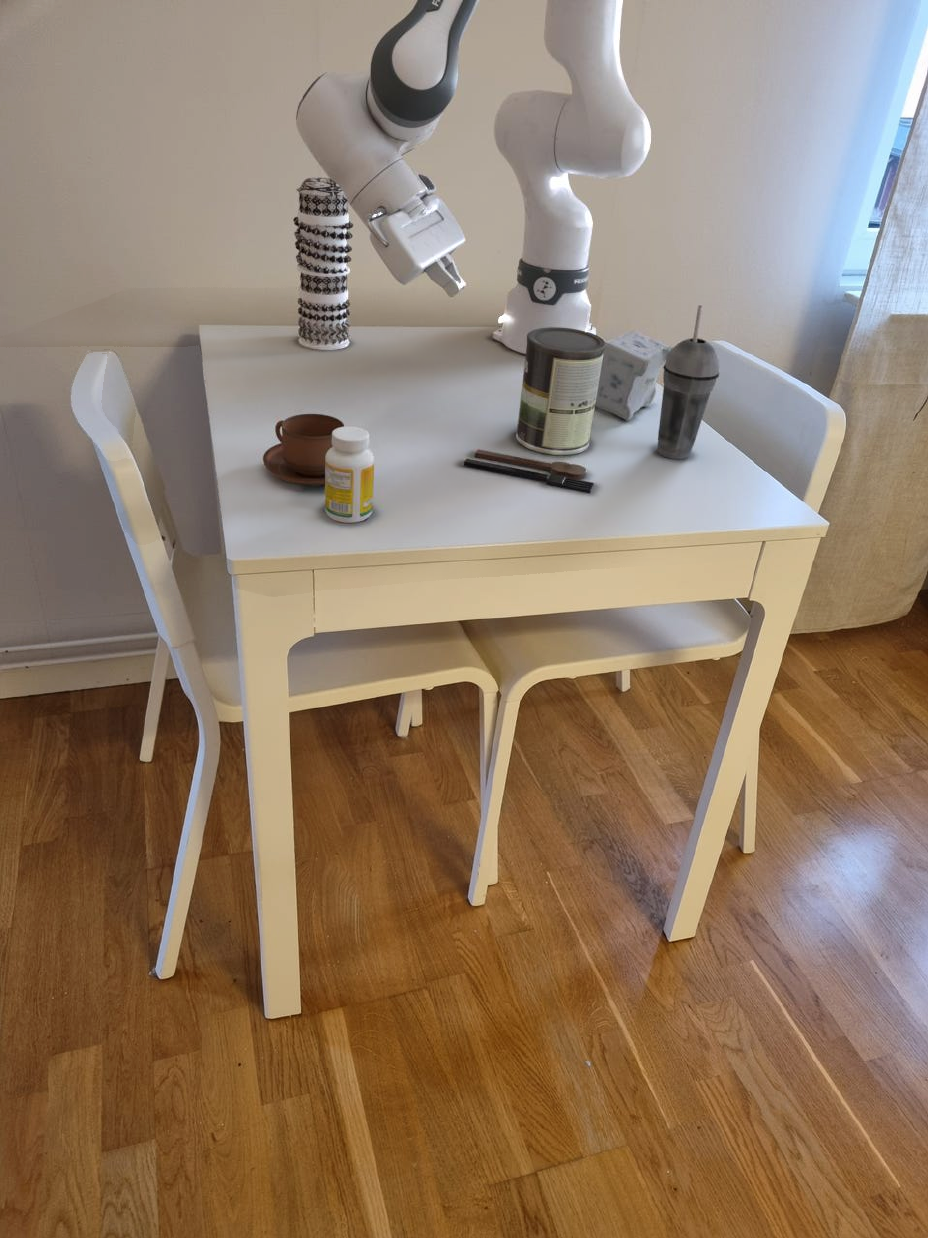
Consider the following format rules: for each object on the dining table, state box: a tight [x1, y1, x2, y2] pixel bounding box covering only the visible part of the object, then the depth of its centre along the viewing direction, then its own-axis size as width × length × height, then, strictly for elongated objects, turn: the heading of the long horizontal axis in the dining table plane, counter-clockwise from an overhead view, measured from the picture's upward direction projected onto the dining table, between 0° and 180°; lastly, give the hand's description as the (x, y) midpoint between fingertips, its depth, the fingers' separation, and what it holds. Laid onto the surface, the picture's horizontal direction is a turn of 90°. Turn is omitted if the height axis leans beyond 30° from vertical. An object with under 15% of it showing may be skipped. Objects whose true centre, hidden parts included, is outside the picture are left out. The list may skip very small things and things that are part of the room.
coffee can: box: [515, 327, 607, 456], centre depth 124 cm, size 10×10×14 cm
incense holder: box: [595, 329, 674, 422], centre depth 139 cm, size 10×8×10 cm
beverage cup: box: [656, 305, 720, 460], centre depth 123 cm, size 7×7×20 cm
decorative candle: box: [292, 177, 354, 351], centre depth 150 cm, size 9×9×25 cm
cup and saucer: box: [262, 413, 345, 486], centre depth 112 cm, size 12×12×6 cm
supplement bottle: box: [324, 426, 375, 524], centre depth 103 cm, size 5×5×10 cm
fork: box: [463, 458, 594, 494], centre depth 118 cm, size 2×17×1 cm, turn 73°
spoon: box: [474, 448, 588, 480], centre depth 120 cm, size 3×15×1 cm, turn 73°
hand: (459, 291), depth 123 cm, fingers closed
